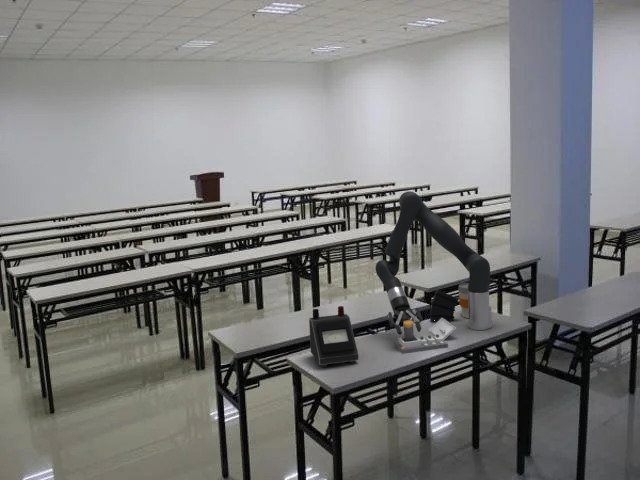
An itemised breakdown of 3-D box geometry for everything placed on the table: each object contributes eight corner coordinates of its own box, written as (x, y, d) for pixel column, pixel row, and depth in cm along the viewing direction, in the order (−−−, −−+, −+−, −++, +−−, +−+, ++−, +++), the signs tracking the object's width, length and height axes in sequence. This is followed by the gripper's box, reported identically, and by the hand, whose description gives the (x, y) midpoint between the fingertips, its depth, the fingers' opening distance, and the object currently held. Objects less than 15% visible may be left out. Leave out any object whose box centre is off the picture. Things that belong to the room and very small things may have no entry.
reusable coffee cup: (474, 320, 276) (474, 289, 274) (453, 316, 286) (452, 285, 284) (490, 315, 284) (490, 285, 282) (469, 310, 294) (468, 281, 292)
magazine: (423, 316, 283) (436, 289, 280) (448, 327, 283) (461, 299, 281) (424, 319, 279) (437, 290, 277) (449, 329, 279) (462, 301, 277)
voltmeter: (319, 368, 231) (317, 319, 228) (310, 355, 247) (308, 309, 244) (359, 363, 235) (357, 315, 232) (347, 350, 250) (345, 305, 247)
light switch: (460, 332, 254) (447, 323, 269) (453, 325, 253) (441, 316, 267) (446, 346, 254) (433, 335, 268) (439, 338, 253) (427, 328, 267)
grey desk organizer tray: (439, 339, 255) (438, 330, 255) (447, 347, 246) (447, 338, 245) (394, 345, 252) (394, 336, 251) (402, 353, 242) (401, 344, 242)
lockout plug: (412, 342, 250) (411, 319, 248) (415, 345, 246) (414, 322, 245) (403, 343, 249) (401, 321, 248) (406, 346, 246) (405, 323, 244)
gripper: (384, 297, 250) (396, 331, 241) (415, 293, 253) (428, 325, 244) (381, 306, 256) (392, 339, 247) (411, 301, 259) (423, 334, 250)
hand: (410, 332), depth 246 cm, fingers open, 8 cm apart
